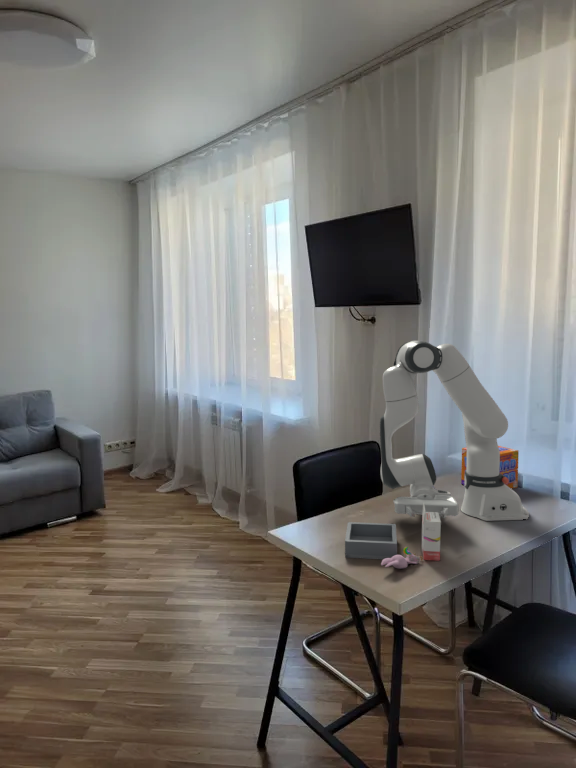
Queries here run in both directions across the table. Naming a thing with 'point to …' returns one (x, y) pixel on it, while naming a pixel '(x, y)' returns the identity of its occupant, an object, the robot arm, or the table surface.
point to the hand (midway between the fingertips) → (427, 515)
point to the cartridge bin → (370, 540)
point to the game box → (506, 465)
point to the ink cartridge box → (431, 535)
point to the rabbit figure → (402, 560)
